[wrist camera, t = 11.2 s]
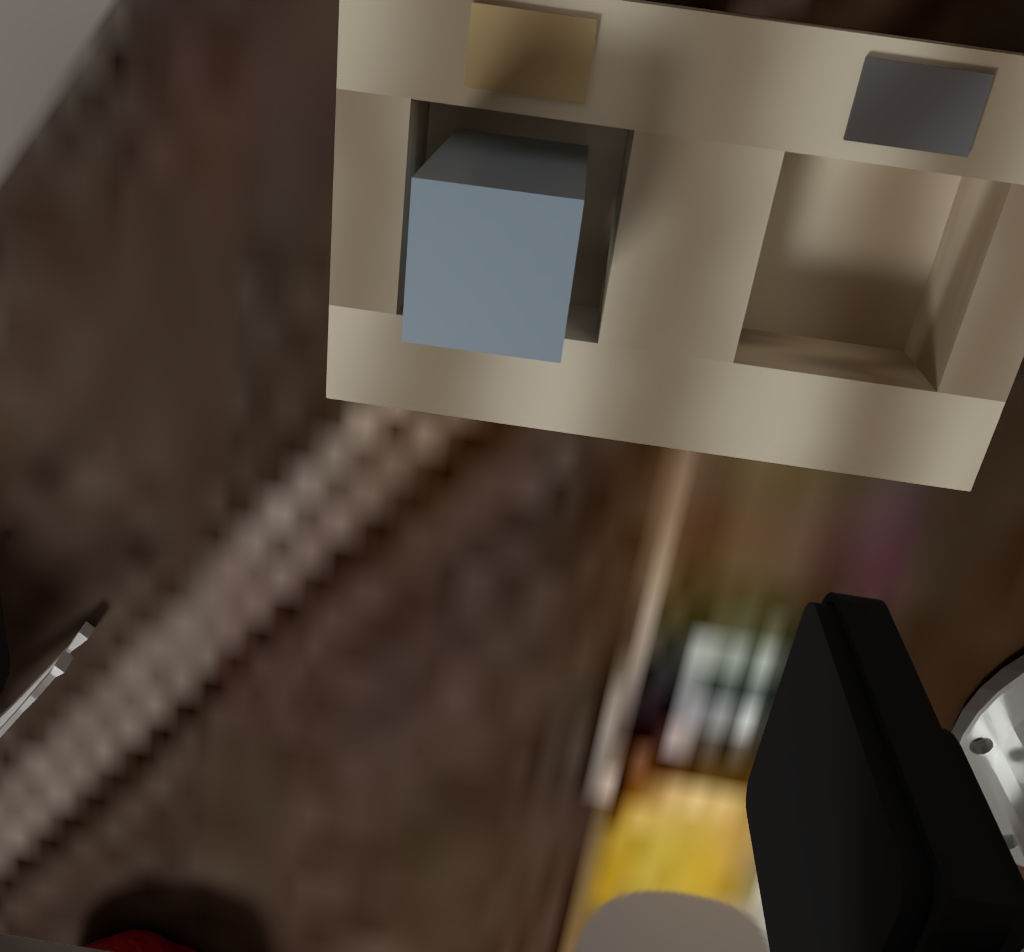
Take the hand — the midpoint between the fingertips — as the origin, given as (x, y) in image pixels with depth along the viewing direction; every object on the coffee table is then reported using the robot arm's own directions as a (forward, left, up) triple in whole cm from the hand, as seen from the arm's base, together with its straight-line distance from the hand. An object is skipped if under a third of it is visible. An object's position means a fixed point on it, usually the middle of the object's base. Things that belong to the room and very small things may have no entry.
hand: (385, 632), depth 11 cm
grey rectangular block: (0, 0, -22) cm, 22 cm away
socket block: (-5, 0, -22) cm, 23 cm away
